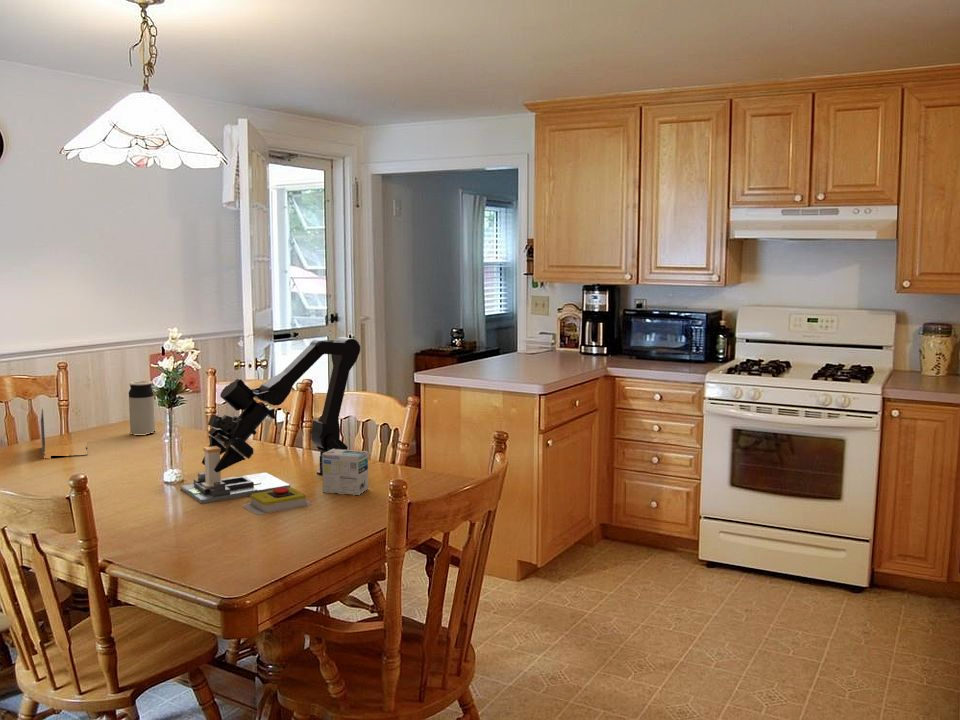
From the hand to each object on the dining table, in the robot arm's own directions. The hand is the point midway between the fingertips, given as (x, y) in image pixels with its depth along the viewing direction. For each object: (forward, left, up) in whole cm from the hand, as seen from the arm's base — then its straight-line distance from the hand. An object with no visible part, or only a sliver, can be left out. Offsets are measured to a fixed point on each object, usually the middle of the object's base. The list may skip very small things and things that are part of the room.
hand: (209, 467), depth 222 cm
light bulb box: (-27, -23, -7) cm, 36 cm away
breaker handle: (0, -1, -6) cm, 6 cm away
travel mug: (+79, -33, -7) cm, 86 cm away
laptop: (+75, -3, -7) cm, 75 cm away
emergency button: (-22, -3, -8) cm, 24 cm away
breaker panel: (-2, -7, -7) cm, 10 cm away
